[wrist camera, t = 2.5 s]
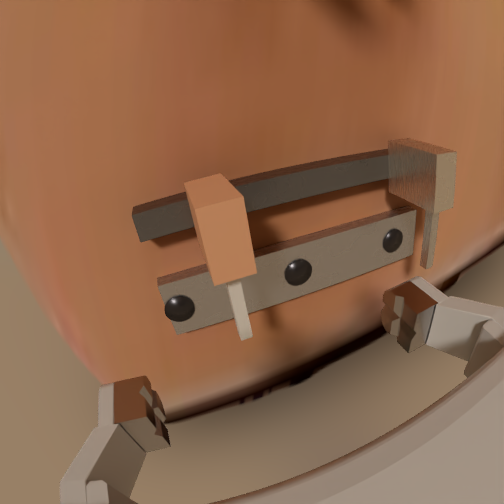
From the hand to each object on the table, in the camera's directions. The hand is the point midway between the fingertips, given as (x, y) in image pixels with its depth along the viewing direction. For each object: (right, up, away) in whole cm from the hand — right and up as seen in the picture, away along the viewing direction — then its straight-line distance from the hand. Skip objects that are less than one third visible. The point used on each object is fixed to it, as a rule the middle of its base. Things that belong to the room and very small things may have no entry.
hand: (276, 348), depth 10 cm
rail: (+3, +6, +15) cm, 17 cm away
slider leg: (-3, +3, +12) cm, 13 cm away
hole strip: (+4, +2, +18) cm, 18 cm away
